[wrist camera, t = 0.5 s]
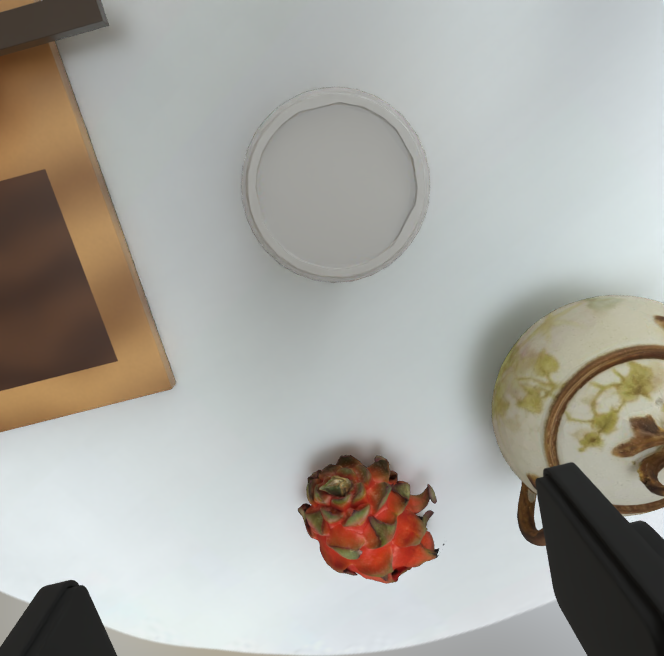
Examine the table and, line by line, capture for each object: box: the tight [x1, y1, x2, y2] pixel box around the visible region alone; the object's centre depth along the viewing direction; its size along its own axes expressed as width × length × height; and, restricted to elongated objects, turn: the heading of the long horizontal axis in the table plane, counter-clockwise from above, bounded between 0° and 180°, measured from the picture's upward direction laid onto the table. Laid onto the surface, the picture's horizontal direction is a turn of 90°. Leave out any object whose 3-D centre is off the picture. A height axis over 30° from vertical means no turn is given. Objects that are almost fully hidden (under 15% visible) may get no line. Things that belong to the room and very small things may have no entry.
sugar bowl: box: [492, 295, 664, 546], centre depth 34 cm, size 20×15×15 cm
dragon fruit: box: [298, 455, 444, 583], centre depth 40 cm, size 8×8×12 cm
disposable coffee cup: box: [241, 87, 430, 283], centre depth 32 cm, size 10×10×12 cm
